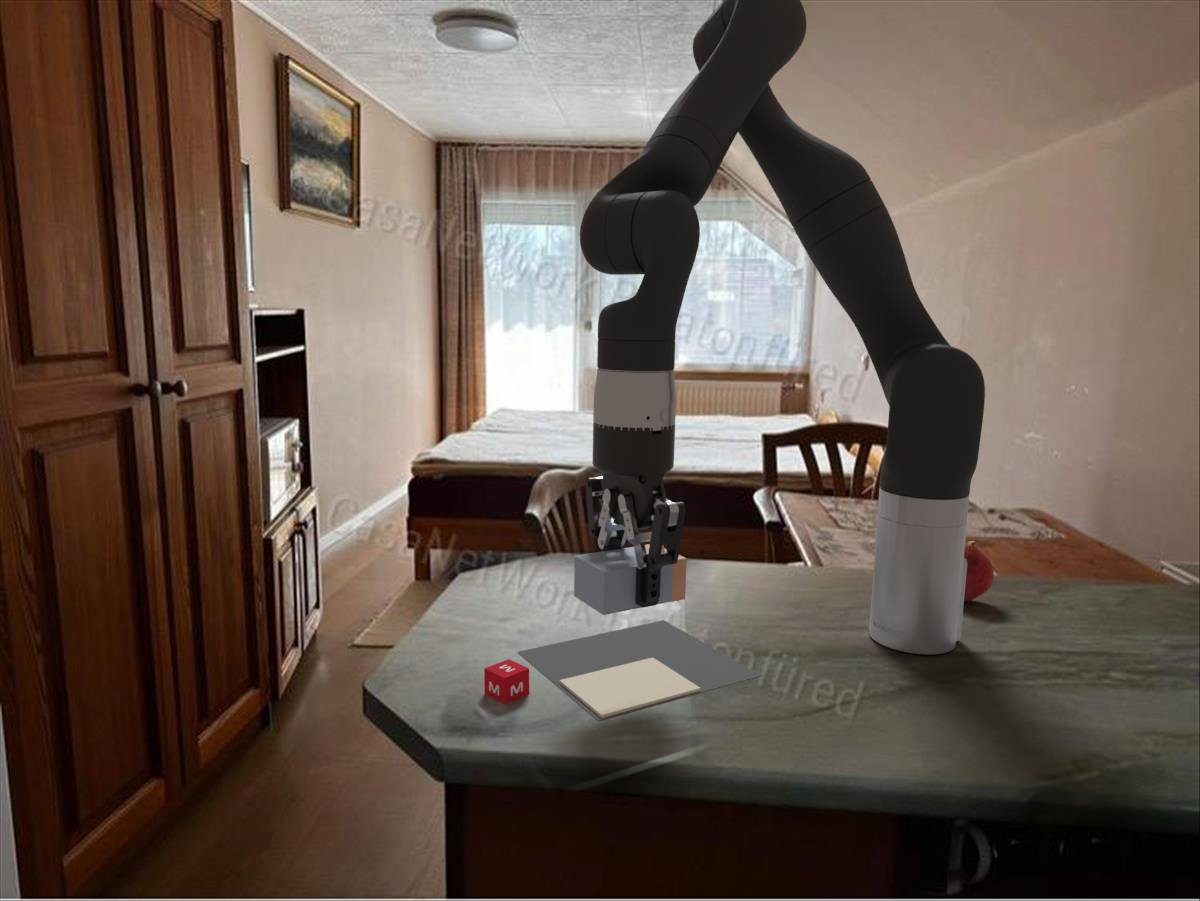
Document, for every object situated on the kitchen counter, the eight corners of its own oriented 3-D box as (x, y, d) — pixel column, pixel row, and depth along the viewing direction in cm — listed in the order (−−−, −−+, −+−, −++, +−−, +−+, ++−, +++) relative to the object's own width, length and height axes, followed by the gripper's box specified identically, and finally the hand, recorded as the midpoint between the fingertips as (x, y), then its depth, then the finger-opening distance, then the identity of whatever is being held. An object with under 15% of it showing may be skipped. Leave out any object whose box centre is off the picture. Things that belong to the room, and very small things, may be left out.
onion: (987, 612, 101) (993, 550, 99) (938, 603, 104) (943, 543, 102) (993, 599, 106) (999, 539, 104) (946, 590, 109) (951, 533, 107)
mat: (663, 623, 95) (663, 617, 95) (761, 679, 81) (761, 672, 81) (516, 655, 86) (516, 649, 86) (598, 725, 71) (598, 717, 71)
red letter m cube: (484, 698, 76) (484, 668, 76) (509, 687, 79) (508, 658, 78) (504, 708, 74) (504, 678, 74) (529, 698, 77) (529, 668, 76)
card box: (603, 615, 72) (604, 572, 72) (574, 596, 77) (574, 555, 76) (685, 599, 77) (686, 558, 76) (652, 581, 82) (653, 543, 81)
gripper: (561, 411, 78) (559, 579, 81) (643, 431, 66) (637, 628, 69) (627, 408, 82) (623, 568, 85) (715, 426, 70) (707, 613, 73)
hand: (629, 594), depth 77 cm, fingers closed on card box, 5 cm apart
